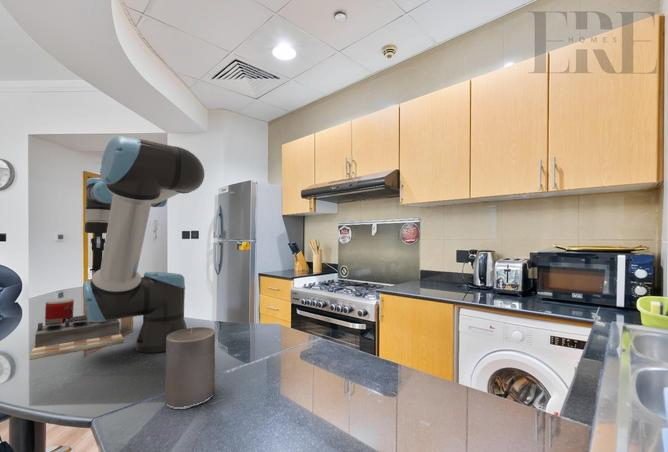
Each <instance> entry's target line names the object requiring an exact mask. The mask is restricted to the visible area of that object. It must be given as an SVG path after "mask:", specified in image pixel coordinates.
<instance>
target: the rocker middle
mask: <svg viewBox="0 0 668 452" xmlns="http://www.w3.org/2000/svg"><path fill="white" fill-rule="evenodd" d="M85 320H88V319H87V316H86V315H78V316H77V315H76V316H73V322H78V321H85Z"/></svg>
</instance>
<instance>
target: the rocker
mask: <svg viewBox="0 0 668 452" xmlns="http://www.w3.org/2000/svg"><path fill="white" fill-rule="evenodd" d="M61 323H62V318H60V319H52V320H46V325H54V324H61Z"/></svg>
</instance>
